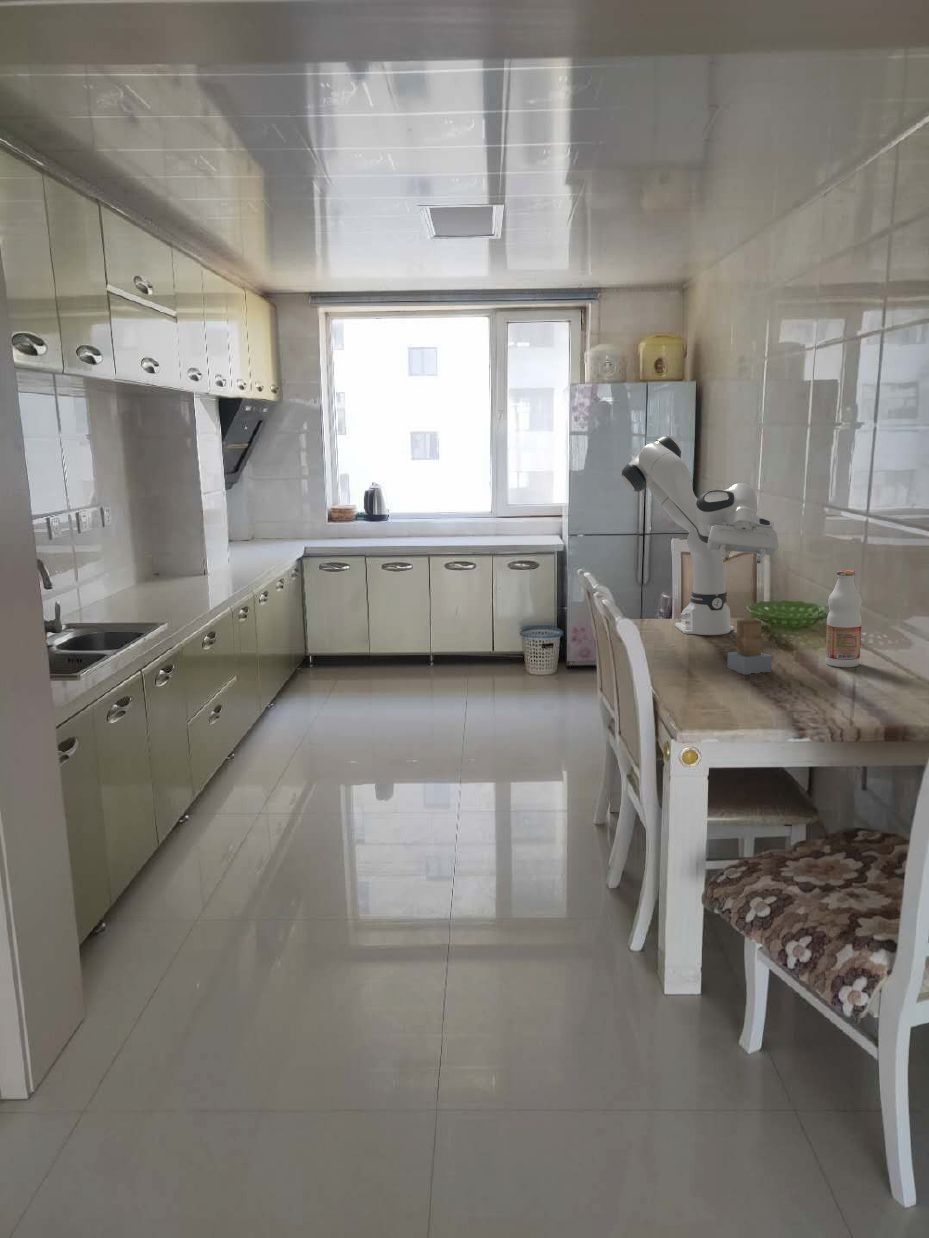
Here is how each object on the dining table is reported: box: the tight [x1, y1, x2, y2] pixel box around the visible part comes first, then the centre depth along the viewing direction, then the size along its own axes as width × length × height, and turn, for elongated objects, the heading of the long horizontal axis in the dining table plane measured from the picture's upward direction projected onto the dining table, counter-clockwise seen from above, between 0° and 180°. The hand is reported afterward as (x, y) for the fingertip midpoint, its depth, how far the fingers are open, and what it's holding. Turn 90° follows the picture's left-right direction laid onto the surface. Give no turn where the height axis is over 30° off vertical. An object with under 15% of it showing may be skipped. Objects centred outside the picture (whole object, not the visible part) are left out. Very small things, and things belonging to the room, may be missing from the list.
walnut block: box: [736, 617, 762, 657], centre depth 265 cm, size 5×5×10 cm
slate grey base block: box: [726, 651, 773, 676], centre depth 266 cm, size 9×9×5 cm
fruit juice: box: [825, 569, 863, 668], centre depth 266 cm, size 9×9×28 cm
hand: (742, 560), depth 265 cm, fingers open, 8 cm apart
